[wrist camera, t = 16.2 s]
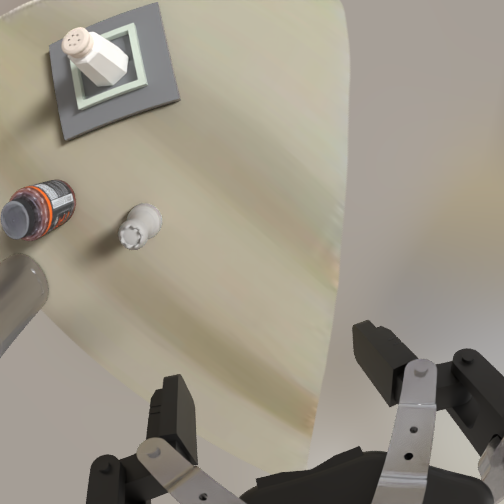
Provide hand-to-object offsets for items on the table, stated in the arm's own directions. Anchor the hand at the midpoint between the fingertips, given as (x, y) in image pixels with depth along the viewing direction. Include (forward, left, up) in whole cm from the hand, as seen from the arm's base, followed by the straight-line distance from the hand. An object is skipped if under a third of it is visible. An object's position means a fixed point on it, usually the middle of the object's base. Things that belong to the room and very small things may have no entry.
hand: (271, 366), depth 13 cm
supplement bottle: (-21, +9, -28) cm, 36 cm away
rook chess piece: (-10, +3, -28) cm, 29 cm away
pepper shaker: (-9, +23, -26) cm, 36 cm away
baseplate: (-9, +23, -27) cm, 37 cm away
